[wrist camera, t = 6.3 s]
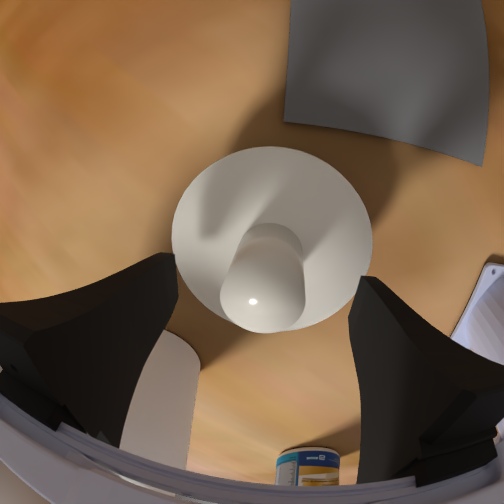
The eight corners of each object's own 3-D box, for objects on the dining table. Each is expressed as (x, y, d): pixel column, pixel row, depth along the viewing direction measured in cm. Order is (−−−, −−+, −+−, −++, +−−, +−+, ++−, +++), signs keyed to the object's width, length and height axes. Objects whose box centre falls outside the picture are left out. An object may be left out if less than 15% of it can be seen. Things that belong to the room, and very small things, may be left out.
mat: (477, 0, 6) (480, -2, 6) (478, 165, 12) (482, 167, 11) (293, -57, 7) (293, -61, 7) (283, 121, 13) (283, 121, 12)
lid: (390, 169, 10) (434, 194, 7) (339, 333, 14) (347, 393, 11) (179, 136, 11) (129, 147, 7) (178, 307, 15) (149, 360, 11)
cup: (100, 314, 21) (23, 420, 10) (193, 310, 19) (122, 467, 8) (144, 383, 25) (99, 480, 14) (228, 388, 23) (197, 511, 12)
